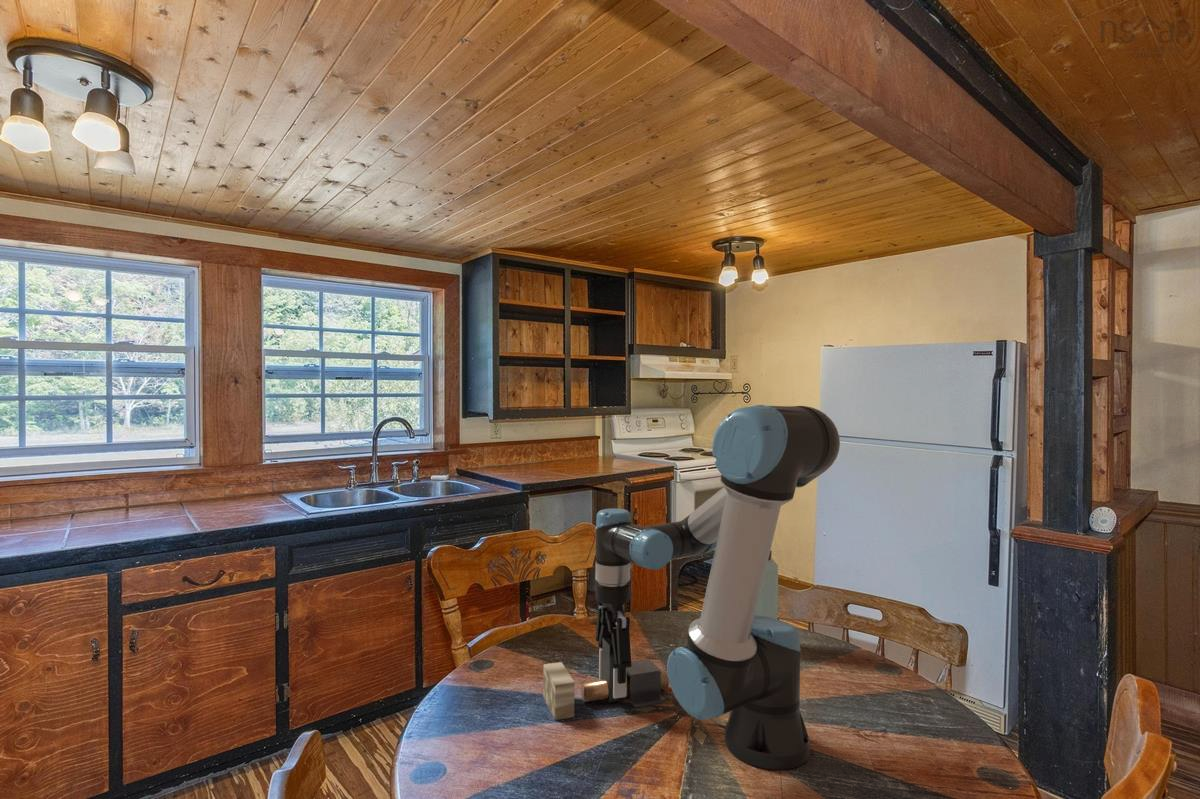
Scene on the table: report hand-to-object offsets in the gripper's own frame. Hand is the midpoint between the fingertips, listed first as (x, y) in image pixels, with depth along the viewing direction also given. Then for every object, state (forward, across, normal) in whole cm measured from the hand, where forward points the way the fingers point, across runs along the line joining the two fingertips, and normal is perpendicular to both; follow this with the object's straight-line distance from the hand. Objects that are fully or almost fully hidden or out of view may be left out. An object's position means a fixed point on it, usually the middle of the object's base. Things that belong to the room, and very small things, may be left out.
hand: (612, 687), depth 129 cm
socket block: (+2, 0, +12) cm, 12 cm away
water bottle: (+3, +14, -46) cm, 48 cm away
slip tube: (+2, 0, -3) cm, 4 cm away
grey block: (+2, 0, -6) cm, 7 cm away
